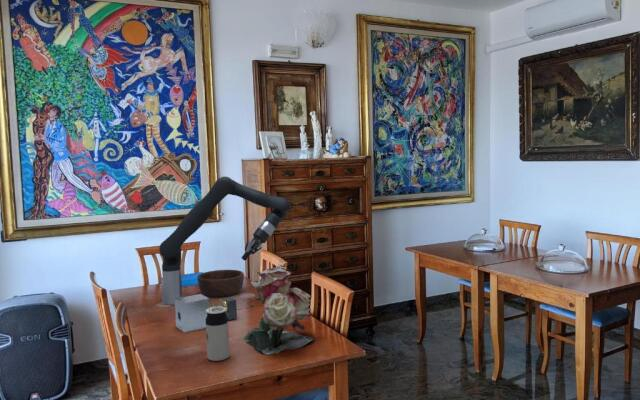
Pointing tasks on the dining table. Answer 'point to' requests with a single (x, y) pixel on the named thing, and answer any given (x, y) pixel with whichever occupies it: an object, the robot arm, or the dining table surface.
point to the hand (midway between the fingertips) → (243, 259)
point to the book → (189, 279)
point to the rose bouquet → (278, 312)
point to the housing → (191, 312)
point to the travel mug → (217, 334)
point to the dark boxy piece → (229, 307)
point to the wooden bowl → (221, 283)
